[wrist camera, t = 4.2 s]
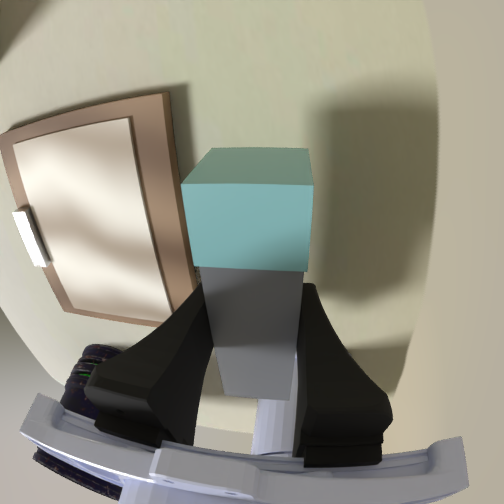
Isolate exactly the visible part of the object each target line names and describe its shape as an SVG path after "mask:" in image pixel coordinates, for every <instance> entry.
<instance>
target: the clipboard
mask: <svg viewBox="0 0 504 504" xmlns="http://www.w3.org/2000/svg"><path fill="white" fill-rule="evenodd" d="M0 150H1V154H2V158H3V162H4V166H5V169H6V173H7V176H8V180H9V183H10V186H11V189H12V193H13V196H14V199H15V202H16V205H17V207H18V209H17V210H16V211H14V212H13V215H14V218H15V220H16V223H17V226H18V228H19V231H20V233H21V236H22V238H23V241H24V243H25V245H26V248H27V250H28V252H29V255H30V257H31V259H32V261H33V263H34V266H39V267H42V269H43V271H44V273H45V275H46V277H47V279H48V282H49V284H50V286H51V288H52V290H53V292H54V293H55V295H56V297H57V299H58V301H59V303H60V305H61V307H62V309H63V310H64V311H65V312H69V313H74V314H80V315H85V316H90V317H95V318H101V319H107V320H113V321H119V322H125V323H131V324H138V325H144V326H151V327H159V326H160V325H161V324H162V323H163V322H164V321H166V320H167V319H168V318H169V317H170V316H171V315H172V314H173V313H174V312H175V311H176V310H177V309H178V308H179V306H180V305H181V304H182V303H183V302H184V301H185V300H186V299H187V298H188V297H189V295H190V294H191V293H192V292H193V291H194V290H195V288H196V287H197V280H196V275H195V270H194V264H193V259H192V253H191V248H190V242H189V236H188V230H187V224H186V218H185V212H184V205H183V199H182V192H181V185H180V178H179V171H178V164H177V156H176V149H175V141H174V132H173V124H172V115H171V105H170V95H169V92H163V93H155V94H149V95H143V96H137V97H131V98H126V99H120V100H115V101H110V102H106V103H101V104H97V105H92V106H88V107H84V108H80V109H76V110H72V111H69V112H65V113H62V114H58V115H55V116H51V117H48V118H45V119H42V120H38V121H35V122H32V123H29V124H26V125H23V126H21V127H18V128H15V129H12V130H10V131H7V132H5V133H3V134H1V135H0Z"/></svg>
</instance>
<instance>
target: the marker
mask: <svg viewBox="0 0 504 504" xmlns="http://www.w3.org/2000/svg"><path fill="white" fill-rule="evenodd" d="M181 189H182V196H183V203H184V209H185V216H186V222H187V228H188V234H189V240H190V246H191V252H192V257H193V263H194V266H199V269H200V275H201V281H202V286H203V292H204V297H205V303H206V308H207V313H208V318H209V324H210V329H211V334H212V339H213V343H214V348H215V353H216V358H217V362H218V367H219V372H220V376H221V381H222V385H223V389H224V394H225V395H227V396H236V397H246V398H257V399H270V400H287V401H289V400H290V393H291V386H292V378H293V370H294V362H295V354H296V346H297V337H298V328H299V318H300V309H301V298H302V288H303V276H304V272H307V270H308V259H309V247H310V234H311V221H312V206H313V189H314V184H313V177H312V171H311V164H310V157H309V151H308V149H304V148H263V147H242V148H211V150H210V151H209V152H208V153H207V154H206V155H205V156H204V158H203V159H202V160H201V161H200V162H199V163H198V164H197V166H196V167H195V168H194V169H193V170H192V171H191V173H190V174H189V175H188V176H187V177H186V178H185V180H184V181H183V182H182V183H181Z"/></svg>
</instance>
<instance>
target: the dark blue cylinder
mask: <svg viewBox="0 0 504 504" xmlns="http://www.w3.org/2000/svg"><path fill="white" fill-rule="evenodd" d="M120 353H122V351H120V350H118V349H115V348H112V347H109V346H105V345H100V344H92V345H89V346H87V347H86V348H85V349H84V351H83V354H82V357H81V358H80V359H79V361H78V363H77V364H76V365H75V366H74V368H73V370H72V372H71V374H70V377H69V379H67V381H66V382H67V383H66V385H65V393H64V395H63V397H62V399H61V401H60V404H61V405H62V406H63V407H64V409H66V410H69V411H71V412H74V413H77V414H79V415H82V416H84V417H87V418H90V419H93V420H96V418H97V416H98V413H99V410H98V409H97V408H96V407H95V406H94V405H93V404H92V402H91V401H90V400H89V399H88V398H87V396H86V395H85V392H84V388H85V386H86V384H87V381H88V379H89V377H90V375H91V373H92V371H93V369H94V368H95V366H96V365H97V364H100V363H102V362H104V361H106V360H108V359H110V358H112V357H114V356H116V355H118V354H120ZM37 448H38V450H37V452H36V453H34V456H33V459H34V460H35V461H37V462H38V463H40V464H41V465H43V466H45V467H47V468H48V469H50V470H52V471H54V472H55V473H57V474H59V475H61V476H63V477H65V478H67V479H69V480H71V481H73V482H75V483H77V484H79V485H81V486H83V487H85V488H87V489H90V490H92V491H94V492H96V493H99V494H101V495H104V496H106V497H109V498H111V499H114V500H117V501H119V499H120V495H121V492H122V489H123V487H120V486H118V485H115V484H113V483H110V482H108V481H105V480H103V479H101V478H98V477H96V476H94V475H92V474H89V473H87V472H85V471H83V470H81V469H79V468H77V467H74V466H72V465H70V464H68V463H66V462H64V461H62V460H60V459H58V458H56V457H55V456H53V455H51V454H49V453H47V452H46V451H44V450H43V449H41V448H40V447H38V446H37Z"/></svg>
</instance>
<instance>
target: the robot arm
mask: <svg viewBox="0 0 504 504" xmlns="http://www.w3.org/2000/svg"><path fill="white" fill-rule="evenodd" d="M213 347H214V343H213V339H212V334H211V329H210V324H209V318H208V313H207V308H206V303H205V297H204V292H203V286H202V281H201V282H200V284H199V285H198V286H197V287H196V288H195V290H194V291H193V292H192V293H191V294H190V295H189V297H188V298H187V299H186V300H185V301H184V302H183V303H182V304H181V305H180V306H179V308H178V309H177V310H176V311H175V312H174V313H173V314H172V315H171V316H170V317H169V318H168V319H167V320H166V321H164V322H163V323H162V324H161V325H160V326H159V327H158V328H156V329H155V330H154V331H153V332H152V333H150V334H149V335H148V336H146V337H145V338H144V339H142V340H141V341H139V342H138V343H136V344H135V345H134V346H132V347H130V348H129V349H127V350H125V351H124V352H122V353H120V354H118V355H116V356H114V357H112V358H110V359H108V360H106V361H104V362H102V363H100V364H97V365H96V366H95V368H94V369H93V371H92V373H91V375H90V377H89V379H88V381H87V384H86V386H85V388H84V392H85V395H86V396H87V398H88V399H89V400H90V401H91V402H92V404H93V405H94V406H95V407H96V408H97V409H98V410H99V413H98V416H97V418H96V420H93V419H90V418H87V417H84V416H82V415H79V414H77V413H74V412H71V411H69V410H66V409H64V407H63V406H62V405H61V404H60V403H59V402H58V401H56V400H55V399H53V398H51V397H48V396H46V395H44V394H41V393H38V394H37V396H36V398H35V400H34V402H33V404H32V406H31V408H30V410H29V412H28V414H27V416H26V418H25V420H24V422H23V424H22V426H21V428H20V433H21V434H22V435H24V436H25V437H26V438H28V439H29V440H30V441H32V442H33V443H34V444H36V445H37V446H38V447H40V448H41V449H43V450H44V451H46V452H47V453H49V454H51V455H53V456H55V457H56V458H58V459H60V460H62V461H64V462H66V463H68V464H70V465H72V466H74V467H77V468H79V469H81V470H83V471H85V472H87V473H89V474H92V475H94V476H96V477H98V478H101V479H103V480H105V481H108V482H110V483H113V484H115V485H118V486H120V487H123V489H122V492H121V495H120V499H119V503H118V504H427V503H431V502H435V501H439V500H442V499H444V498H446V497H449V496H451V495H453V494H455V493H457V492H460V491H462V490H464V489H466V488H468V486H469V481H468V473H467V466H466V459H465V452H464V446H463V441H462V437H461V436H459V437H454V438H449V439H444V440H441V441H437V442H435V443H433V444H432V445H430V446H429V447H428V449H422V450H416V451H409V452H402V453H394V454H385V455H382V447H381V444H382V443H383V441H384V440H383V432H384V431H385V430H386V429H387V428H388V426H389V425H390V424H391V423H392V421H393V414H392V409H391V405H390V402H389V399H388V396H387V394H386V393H385V392H384V391H383V390H381V389H380V388H379V387H378V386H377V385H376V384H375V383H374V382H373V381H372V380H371V379H370V378H369V377H368V376H367V375H366V374H365V373H364V371H363V370H362V369H361V368H360V367H359V365H358V364H357V363H356V362H355V361H354V359H353V358H352V356H351V354H350V353H348V351H347V350H346V348H345V347H344V345H343V344H342V342H341V341H340V339H339V338H338V336H337V334H336V332H335V331H334V329H333V327H332V325H331V323H330V321H329V319H328V317H327V315H326V313H325V311H324V309H323V306H322V304H321V302H320V299H319V296H318V293H317V290H316V286H315V285H314V284H313V283H303V288H302V298H301V309H300V318H299V328H298V337H297V346H296V350H297V351H296V354H295V362H294V370H293V378H292V386H291V393H290V400H289V401H287V400H270V399H258V406H257V413H256V420H255V427H254V434H253V442H252V449H251V455H249V454H241V453H232V452H225V451H217V450H211V449H205V448H199V447H194V446H193V444H194V435H195V427H196V420H197V414H198V407H199V402H200V396H201V391H202V385H203V380H204V376H205V372H206V368H207V365H208V362H209V359H210V356H211V353H212V350H213Z"/></svg>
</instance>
